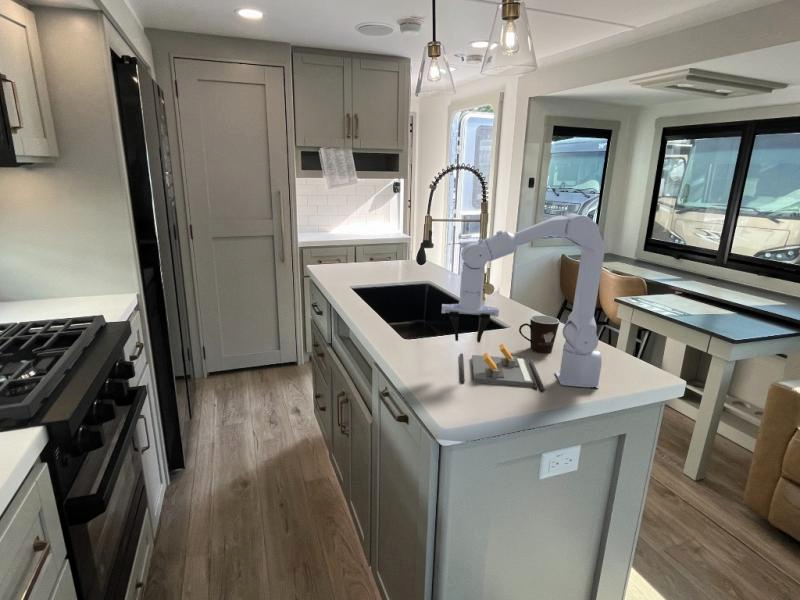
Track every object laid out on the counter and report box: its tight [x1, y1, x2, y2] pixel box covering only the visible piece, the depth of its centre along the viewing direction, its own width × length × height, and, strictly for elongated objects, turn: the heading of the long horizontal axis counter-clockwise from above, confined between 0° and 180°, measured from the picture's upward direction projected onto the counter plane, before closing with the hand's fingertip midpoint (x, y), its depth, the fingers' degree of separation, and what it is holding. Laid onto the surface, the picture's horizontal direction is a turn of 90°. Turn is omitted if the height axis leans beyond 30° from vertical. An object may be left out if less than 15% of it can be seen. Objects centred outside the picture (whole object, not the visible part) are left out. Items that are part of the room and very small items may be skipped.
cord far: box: [459, 352, 466, 384], centre depth 127 cm, size 1×19×1 cm, turn 174°
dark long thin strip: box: [525, 360, 539, 390], centre depth 124 cm, size 1×17×1 cm, turn 173°
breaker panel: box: [471, 352, 534, 388], centre depth 126 cm, size 15×16×3 cm
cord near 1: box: [528, 359, 546, 392], centre depth 124 cm, size 1×19×1 cm, turn 173°
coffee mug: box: [518, 314, 560, 355], centre depth 143 cm, size 12×9×10 cm
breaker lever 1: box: [482, 352, 497, 371], centre depth 122 cm, size 1×4×5 cm
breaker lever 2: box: [498, 343, 514, 361], centre depth 129 cm, size 1×4×5 cm
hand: (467, 340), depth 121 cm, fingers open, 5 cm apart
